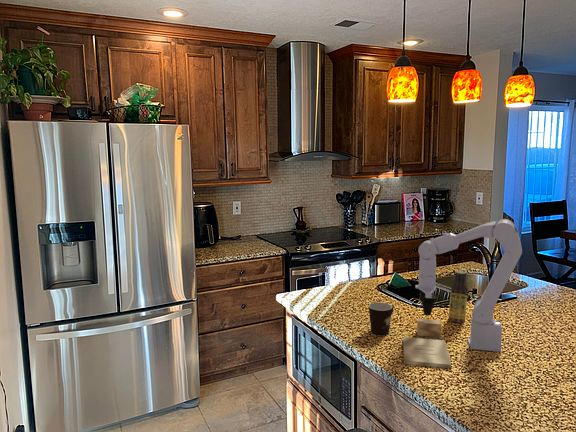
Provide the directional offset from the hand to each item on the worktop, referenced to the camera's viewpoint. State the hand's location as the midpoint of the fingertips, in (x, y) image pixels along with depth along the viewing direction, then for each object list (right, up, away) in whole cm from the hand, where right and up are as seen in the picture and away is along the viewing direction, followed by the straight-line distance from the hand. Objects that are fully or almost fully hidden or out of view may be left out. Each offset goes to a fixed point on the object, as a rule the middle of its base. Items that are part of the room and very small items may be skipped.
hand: (426, 311), depth 154 cm
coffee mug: (-14, -9, +6) cm, 18 cm away
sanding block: (+1, -9, +2) cm, 10 cm away
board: (-4, -11, -12) cm, 17 cm away
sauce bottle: (+17, -7, +15) cm, 24 cm away
